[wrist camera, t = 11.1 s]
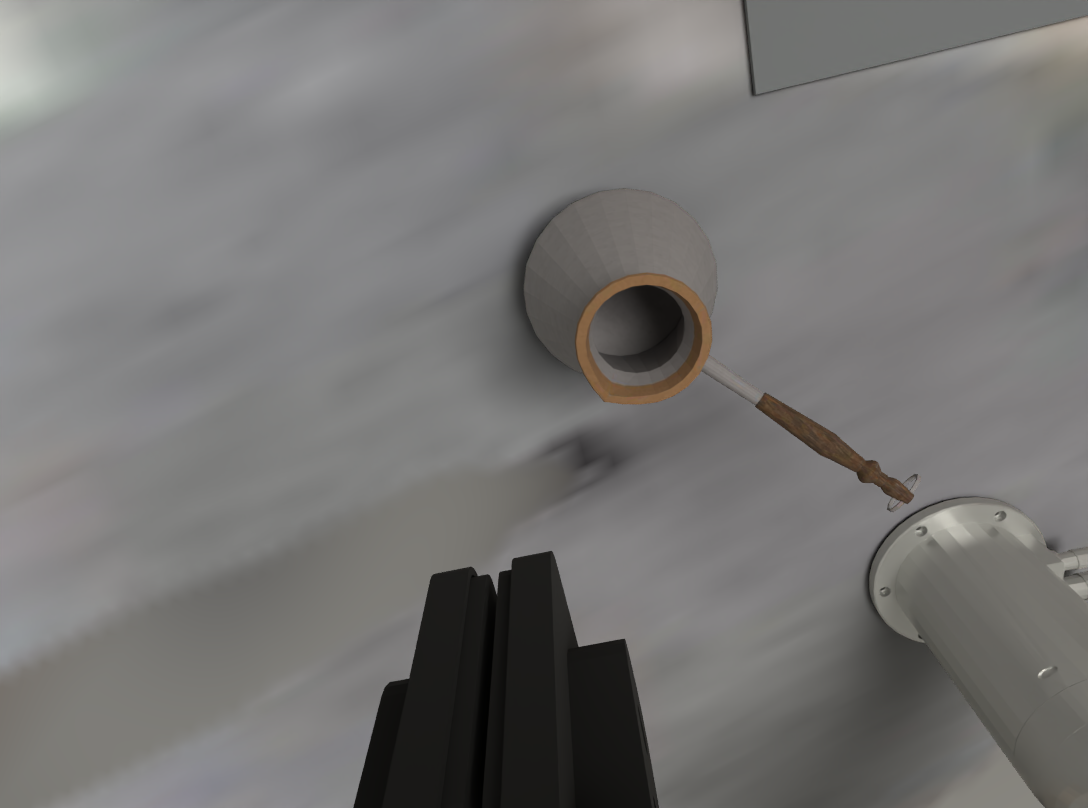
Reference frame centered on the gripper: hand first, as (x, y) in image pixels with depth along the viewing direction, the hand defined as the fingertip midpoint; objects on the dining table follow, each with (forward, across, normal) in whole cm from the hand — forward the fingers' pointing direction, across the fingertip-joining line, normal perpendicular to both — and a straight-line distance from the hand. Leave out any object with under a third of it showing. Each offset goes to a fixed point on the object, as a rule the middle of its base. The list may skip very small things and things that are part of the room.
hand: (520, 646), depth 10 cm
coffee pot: (+37, -8, +8) cm, 39 cm away
